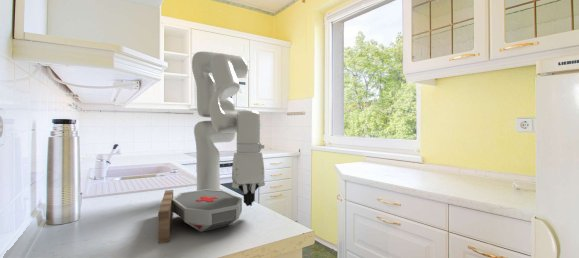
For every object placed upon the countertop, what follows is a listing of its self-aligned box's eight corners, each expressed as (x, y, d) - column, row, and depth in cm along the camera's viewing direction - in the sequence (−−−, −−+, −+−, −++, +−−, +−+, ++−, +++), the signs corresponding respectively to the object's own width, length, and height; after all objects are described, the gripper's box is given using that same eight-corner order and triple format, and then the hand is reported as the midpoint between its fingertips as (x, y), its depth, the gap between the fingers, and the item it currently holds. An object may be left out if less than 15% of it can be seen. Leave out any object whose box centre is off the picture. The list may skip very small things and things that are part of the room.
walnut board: (165, 214, 98) (165, 190, 98) (173, 213, 99) (173, 189, 99) (158, 243, 75) (158, 212, 74) (169, 241, 76) (168, 211, 75)
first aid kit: (166, 217, 95) (193, 243, 75) (166, 195, 95) (192, 214, 75) (217, 208, 105) (252, 228, 86) (217, 187, 105) (252, 202, 85)
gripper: (267, 147, 100) (267, 199, 101) (223, 148, 96) (224, 203, 96) (273, 149, 93) (273, 205, 94) (226, 150, 88) (226, 210, 89)
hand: (248, 204), depth 95 cm, fingers closed
